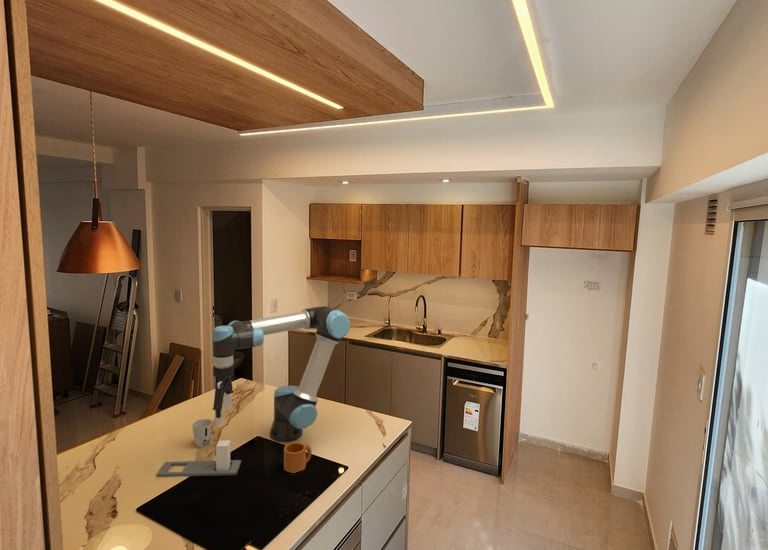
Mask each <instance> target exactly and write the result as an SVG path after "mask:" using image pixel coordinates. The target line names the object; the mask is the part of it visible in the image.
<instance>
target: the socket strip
mask: <svg viewBox="0 0 768 550" xmlns="http://www.w3.org/2000/svg"><path fill="white" fill-rule="evenodd" d="M241 463H242V460H241V459H233V460H231V459H230V468H229V470H228V471H216V460H189V461H188V460H184V461H183V460H182V461H181V460H179V461H178V460H176V461H165V462H164V463H163V464H162V465H161V467H160V468H159V470H158V471H157V473H156V478H159V477H160V478H161V477H163V478H164V477H165V478H167V477H169V478H170V477H198V476H199V477H200V476H201V477H202V476H203V477H204V476H209V477H210V476H236V475H237V474H238V471H239V469H240V466H241ZM174 466H175V467H178V466H180V467H182V466H183V467H184V468H183V469H182V471H170V469H171V468H172V467H174Z"/></svg>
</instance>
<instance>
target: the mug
mask: <svg viewBox="0 0 768 550" xmlns="http://www.w3.org/2000/svg"><path fill="white" fill-rule="evenodd" d="M311 458H312V447H311V446H310V445H309V444H305V443H303V442H298V441H297V442H294V441H293V442H290V443H288V444H286V445H285V446H284V447H283V470H285V471H287V472H290V473H296V472H299V471H302V470H304V469H305V470H306V468H305V467H307V463H309V461H310V459H311ZM305 470H304V471H305ZM285 471H284V472H285Z"/></svg>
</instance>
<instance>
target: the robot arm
mask: <svg viewBox="0 0 768 550" xmlns="http://www.w3.org/2000/svg"><path fill="white" fill-rule="evenodd" d="M350 328H351V321H350V319H349V317H348V315H347V314H346V313H344V312H342V311H341V310H338V309H335V308H332V307H329V306H326V305H323V306H322V305H321V306H316V307H315V306H314V307H310V308H304V309H302V310H301V311H298V312H292V313H287V314H281V315H275V316H271V317H270V316H269V317H264V318H258V319H252V320H245V321H240V320H232V321H230V322H229V323H228V325H219V326H216V327H214V328H213V331H212V338H211V339H212V357H211V360H213V361H212V365H213V367H212V375H213V377H214V378H217V379H218V380H216V382H215V385H214V386H215V388H214V389H215V390H214V398H213V399H214V400H213V407H212V410H213V411H214V426H223V425H224V411H225V410H226V411H231V410H232V394H234V390H233V389H234V387H233V382H232V376H233V375H234V350H239V349H240V350H241V349H248V348H255V347H259V346H262V345H263V344H264V341H265V336H266V335H273V334H277V333H283V332H289V331H294V330H299V329H304V330H312V329H313V330H316V331H315V336H316V340H315V343H314V347H313V348H312V352H311V354H310V356H309V359H308V363H307V365H306V368H305V370H304V372H303V375H302V378H301V381H300V383H299V385H298V386H297V385H284V386H279V387H278V388H276V389H275V390H274V394H273V395H274V396H273V421H272V423H271V427H270V430H269V437H270V439H272V440H273V441H275V442H280V443H288V442H290V443H291V442H294V441H296V440H298V439H300V438H301V437H302V435H303V431H304V430H303V429H308V427H311V426H312V425H313V424H314V423H315V421H316V420H317V418H318V417H317V416H318V409H317V407H316V406H317V404H318V401H319V399H318V397H317V394H318V391H319V389H320V386H321V383H322V381H323V379H324V376H325V372H326V370H327V367H328V364H329V362H330V359H331V356H332V354H333V351H334V348H335V346H336V345H337V344H339V343H340V341H341V339H342V338H344V337H345V336H347V334H348V333H349V331H350ZM223 404H224V405H223ZM223 406H224V407H223Z"/></svg>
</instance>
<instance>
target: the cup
mask: <svg viewBox="0 0 768 550" xmlns="http://www.w3.org/2000/svg"><path fill="white" fill-rule="evenodd" d="M191 425H192V434H193V439H194V443H195V445H196V447H198V448H205V447H207V446H208V445H209V444H210V441H211V438H212V433H213V432H212V431H213V420H212V419H209V418H201V419H197V420H196V421H194V422H192V424H191Z"/></svg>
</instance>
